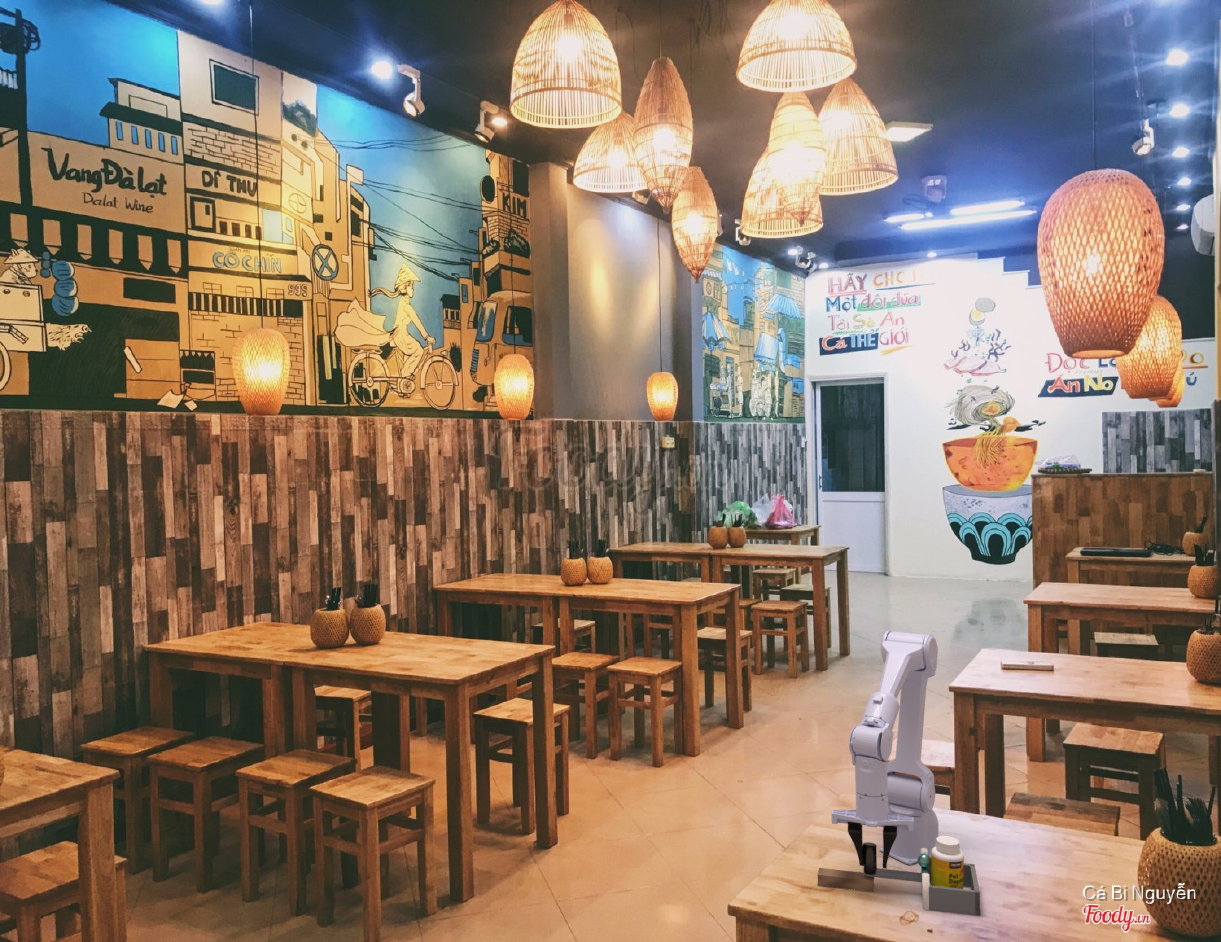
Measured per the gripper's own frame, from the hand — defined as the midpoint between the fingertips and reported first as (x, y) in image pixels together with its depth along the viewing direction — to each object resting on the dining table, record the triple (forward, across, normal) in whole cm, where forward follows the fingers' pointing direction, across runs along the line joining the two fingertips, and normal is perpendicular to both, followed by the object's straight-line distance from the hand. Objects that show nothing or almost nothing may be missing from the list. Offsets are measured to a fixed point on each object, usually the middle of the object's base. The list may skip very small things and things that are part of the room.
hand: (873, 864), depth 168 cm
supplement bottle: (+4, +13, 0) cm, 13 cm away
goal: (+4, +13, 0) cm, 14 cm away
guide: (+4, -5, 0) cm, 7 cm away
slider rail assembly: (+4, +4, 0) cm, 6 cm away
